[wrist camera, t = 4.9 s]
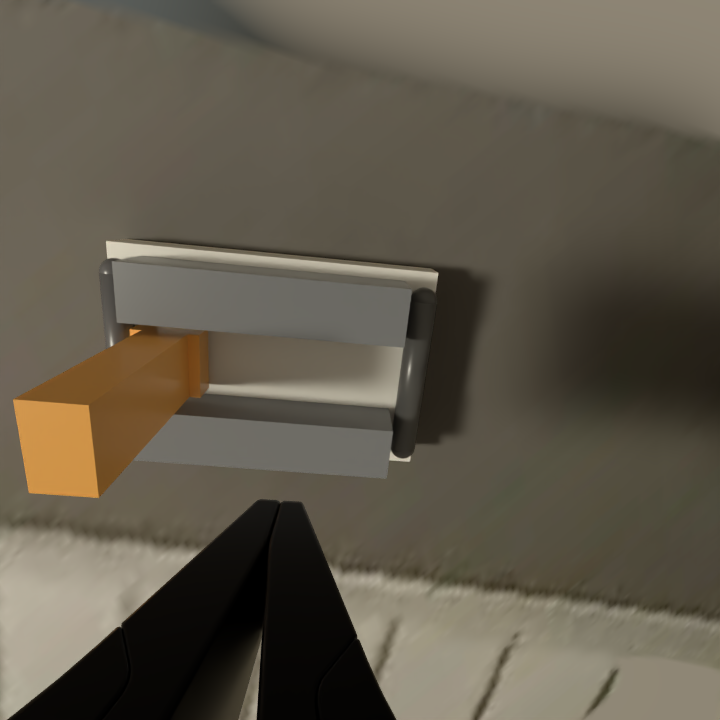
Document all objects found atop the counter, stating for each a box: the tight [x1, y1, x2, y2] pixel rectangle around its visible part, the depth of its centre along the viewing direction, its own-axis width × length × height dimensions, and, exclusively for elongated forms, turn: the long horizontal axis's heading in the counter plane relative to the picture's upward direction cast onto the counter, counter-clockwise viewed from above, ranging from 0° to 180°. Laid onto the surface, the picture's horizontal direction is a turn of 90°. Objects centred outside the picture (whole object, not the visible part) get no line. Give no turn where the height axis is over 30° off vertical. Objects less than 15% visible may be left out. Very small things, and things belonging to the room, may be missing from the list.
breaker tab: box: [13, 325, 209, 498], centre depth 13 cm, size 2×2×7 cm
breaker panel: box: [99, 239, 438, 479], centre depth 17 cm, size 12×8×4 cm, turn 85°
